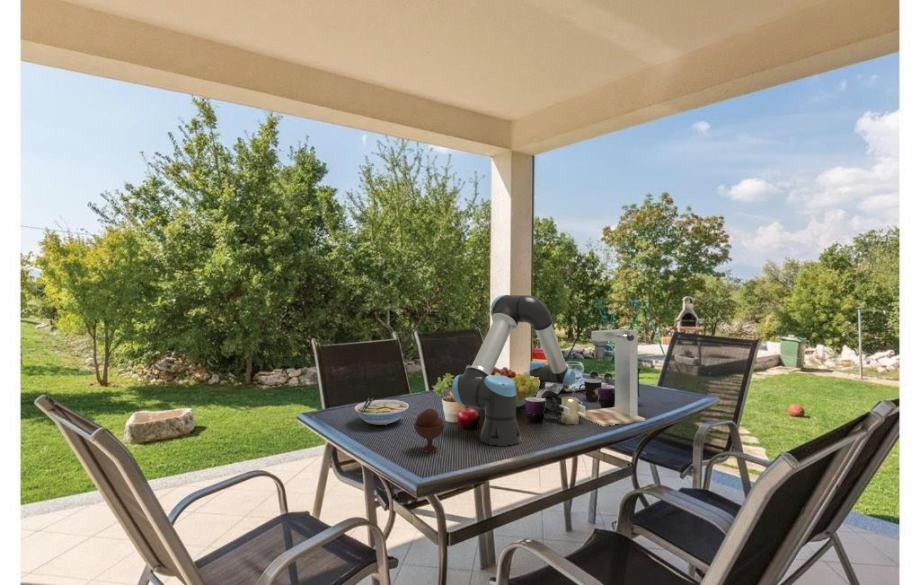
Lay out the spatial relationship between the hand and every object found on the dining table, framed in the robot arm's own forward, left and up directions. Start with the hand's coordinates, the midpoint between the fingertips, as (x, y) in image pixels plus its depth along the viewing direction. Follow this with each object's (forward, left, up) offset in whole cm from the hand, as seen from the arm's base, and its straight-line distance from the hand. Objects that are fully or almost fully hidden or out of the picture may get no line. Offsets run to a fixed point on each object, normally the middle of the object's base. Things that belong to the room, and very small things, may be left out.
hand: (576, 410), depth 192 cm
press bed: (+20, +5, -6) cm, 21 cm away
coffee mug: (+30, +33, -6) cm, 45 cm away
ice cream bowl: (-65, -6, -6) cm, 66 cm away
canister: (+43, +20, -6) cm, 48 cm away
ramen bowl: (-75, +32, -6) cm, 82 cm away
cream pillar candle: (0, +5, -6) cm, 8 cm away
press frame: (+22, +2, -5) cm, 22 cm away
